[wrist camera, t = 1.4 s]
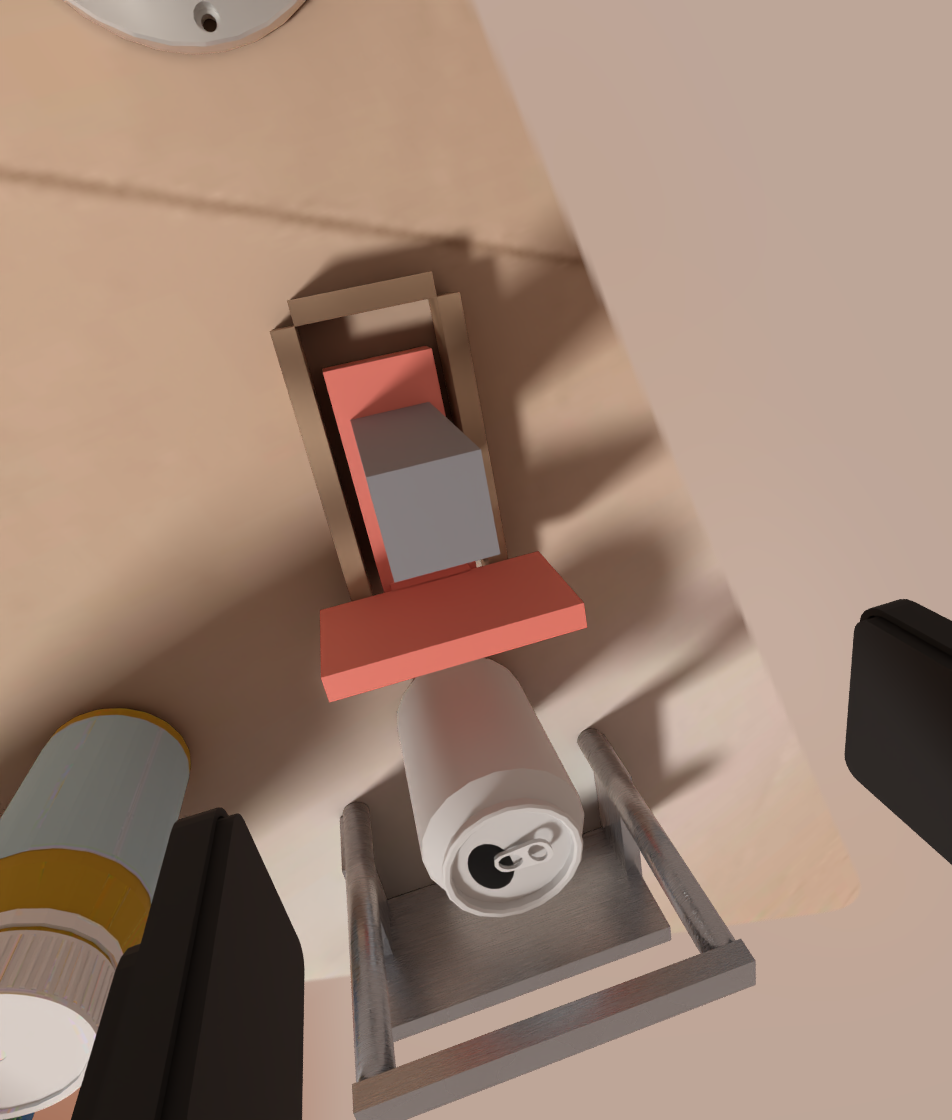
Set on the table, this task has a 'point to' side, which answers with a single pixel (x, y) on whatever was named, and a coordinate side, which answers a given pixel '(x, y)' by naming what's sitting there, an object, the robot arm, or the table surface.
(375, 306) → the brown wooden rectangular frame
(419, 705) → the can
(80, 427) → the table surface
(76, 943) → the bottle
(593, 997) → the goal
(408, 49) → the table surface
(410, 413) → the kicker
